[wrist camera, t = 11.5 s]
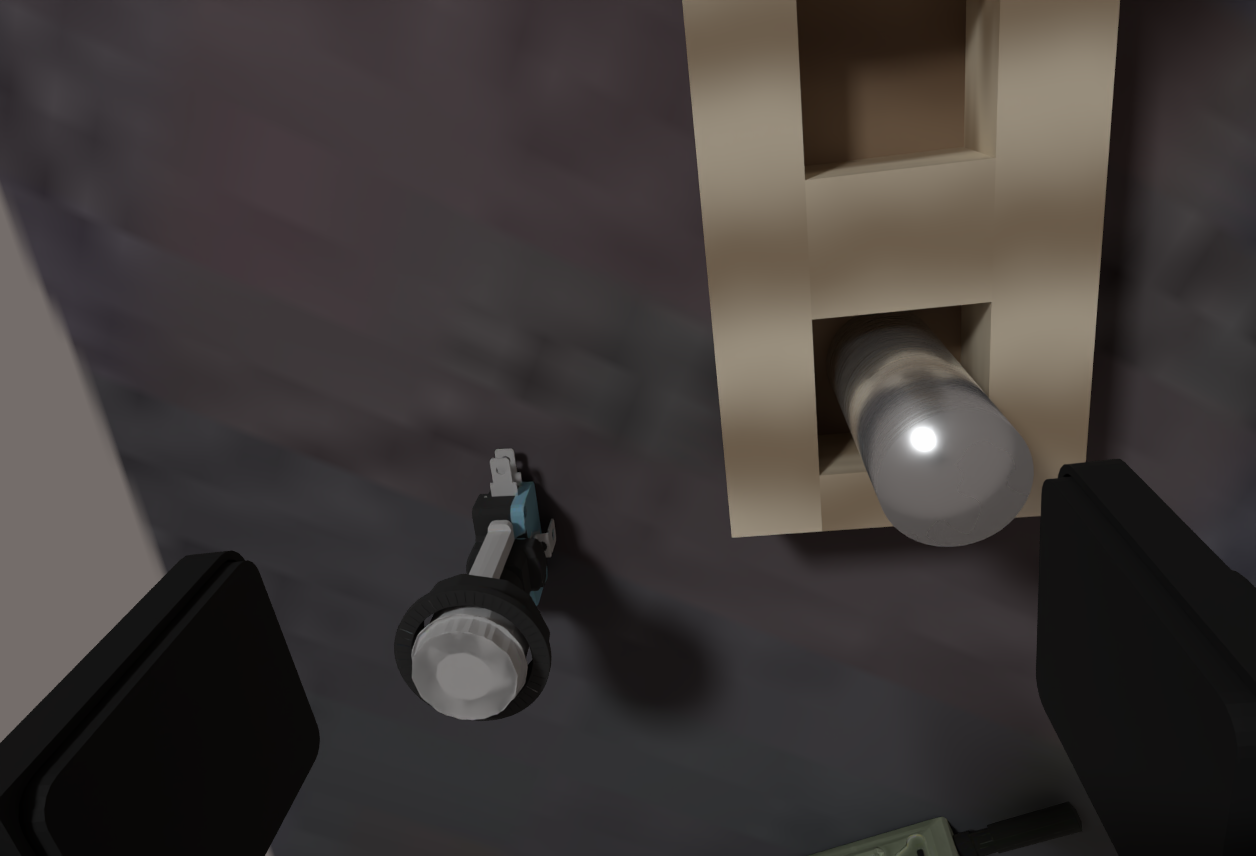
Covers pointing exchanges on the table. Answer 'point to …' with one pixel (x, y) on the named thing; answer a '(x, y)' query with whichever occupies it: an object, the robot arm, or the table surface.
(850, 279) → the socket block
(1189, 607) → the robot arm
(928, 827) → the handheld radio
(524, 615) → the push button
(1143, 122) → the table surface
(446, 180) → the table surface
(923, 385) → the pin
